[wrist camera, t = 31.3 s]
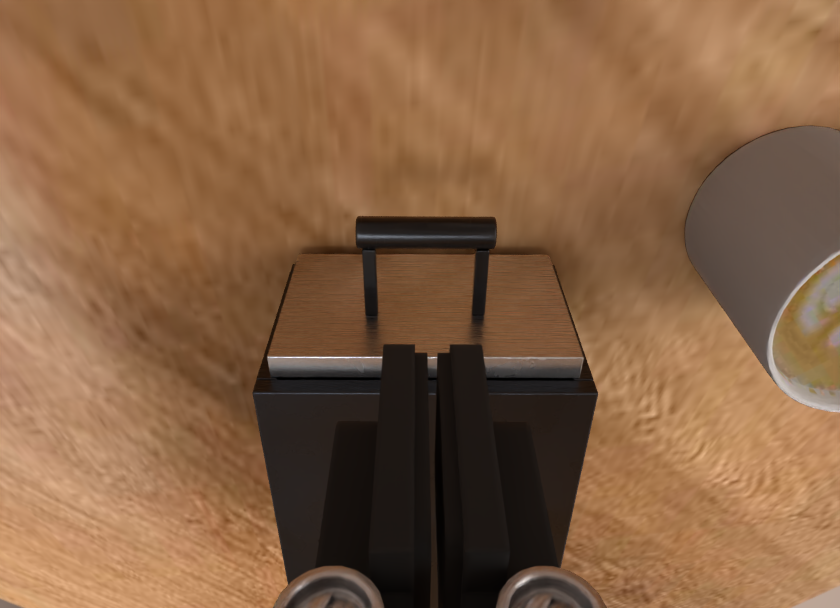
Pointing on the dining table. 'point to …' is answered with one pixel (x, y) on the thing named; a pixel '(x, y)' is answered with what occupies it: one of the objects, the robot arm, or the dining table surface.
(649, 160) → the dining table surface
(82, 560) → the dining table surface
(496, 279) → the drawer
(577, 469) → the black box
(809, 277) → the coffee mug
